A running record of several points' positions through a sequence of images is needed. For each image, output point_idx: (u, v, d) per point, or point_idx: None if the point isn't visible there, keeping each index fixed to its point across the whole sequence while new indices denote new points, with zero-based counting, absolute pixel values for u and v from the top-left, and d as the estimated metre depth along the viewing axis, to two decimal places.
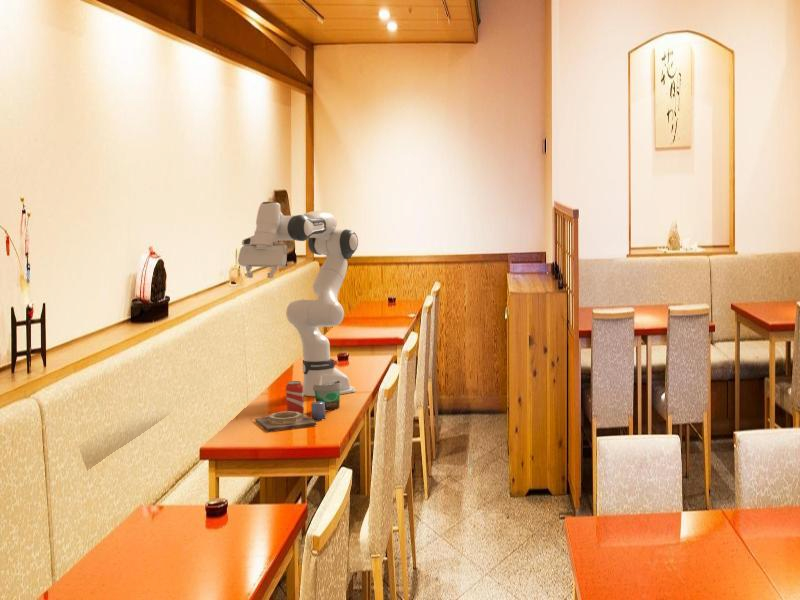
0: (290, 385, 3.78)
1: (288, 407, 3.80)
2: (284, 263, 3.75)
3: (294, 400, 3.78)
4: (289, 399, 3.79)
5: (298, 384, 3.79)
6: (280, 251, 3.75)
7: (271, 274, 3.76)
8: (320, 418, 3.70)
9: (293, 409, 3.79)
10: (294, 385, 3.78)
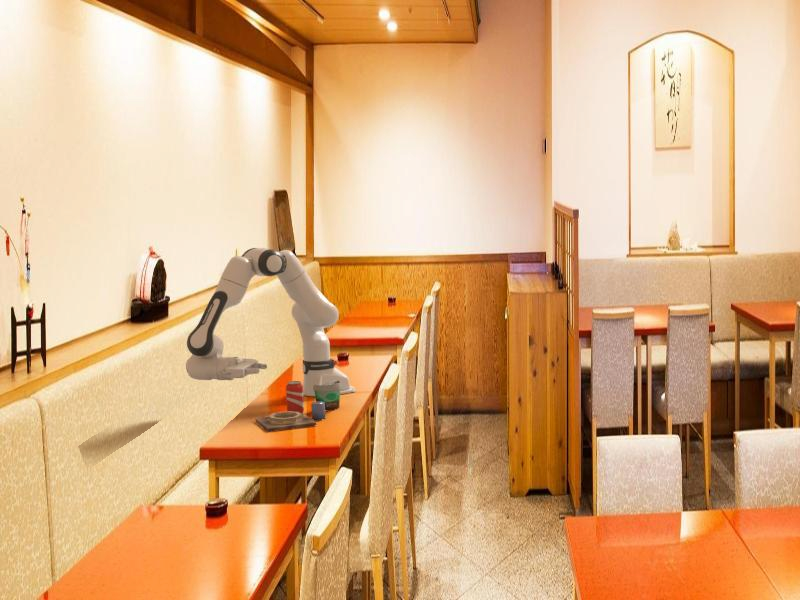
0: (290, 385, 3.78)
1: (288, 407, 3.80)
2: (239, 372, 3.73)
3: (294, 400, 3.78)
4: (289, 399, 3.79)
5: (298, 384, 3.79)
6: (230, 377, 3.75)
7: (255, 372, 3.77)
8: (320, 418, 3.70)
9: (293, 409, 3.79)
10: (294, 385, 3.78)
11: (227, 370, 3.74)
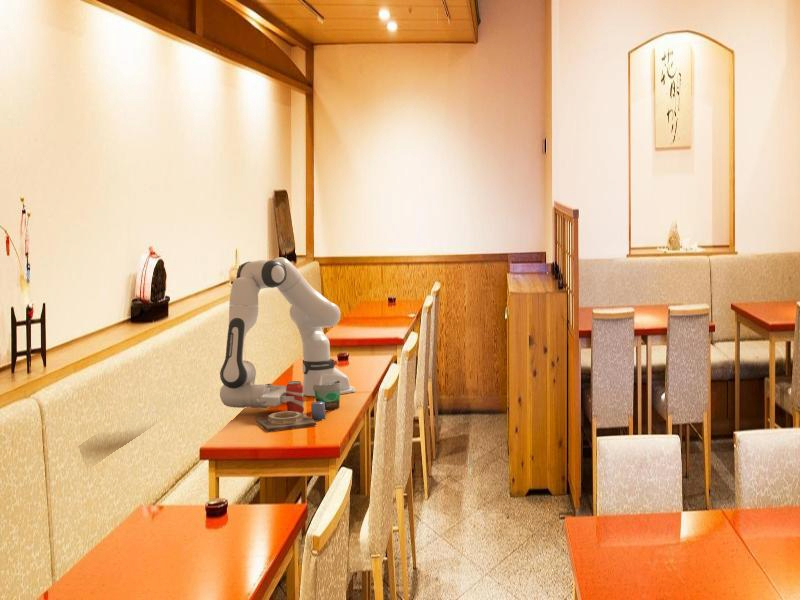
0: (290, 385, 3.78)
1: (288, 407, 3.80)
2: (274, 401, 3.72)
3: (294, 400, 3.78)
4: None
5: (298, 384, 3.79)
6: (265, 406, 3.74)
7: (290, 399, 3.77)
8: (320, 418, 3.70)
9: (293, 409, 3.79)
10: (294, 385, 3.78)
11: (262, 398, 3.74)
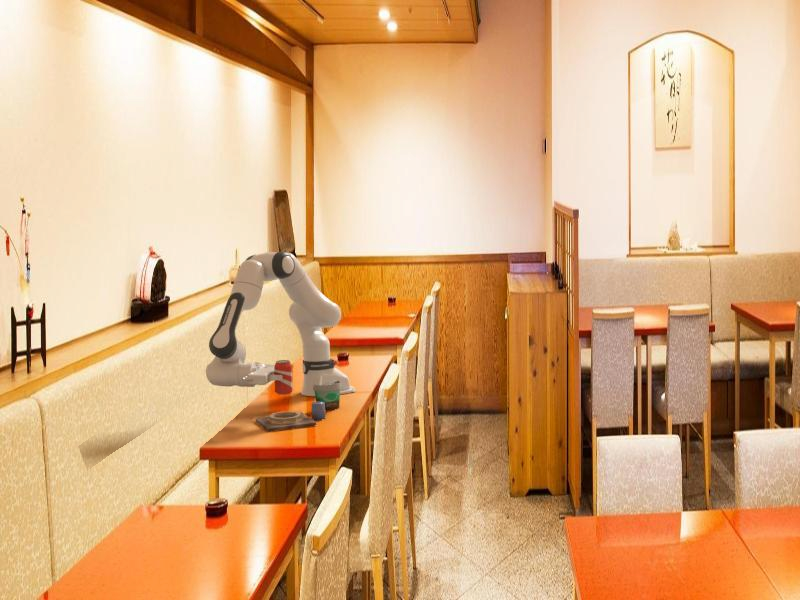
0: (278, 364, 3.63)
1: (276, 387, 3.65)
2: (262, 379, 3.57)
3: (282, 380, 3.63)
4: None
5: (287, 363, 3.64)
6: (252, 384, 3.59)
7: (278, 378, 3.62)
8: (320, 418, 3.70)
9: (281, 389, 3.64)
10: (283, 364, 3.63)
11: (249, 376, 3.59)
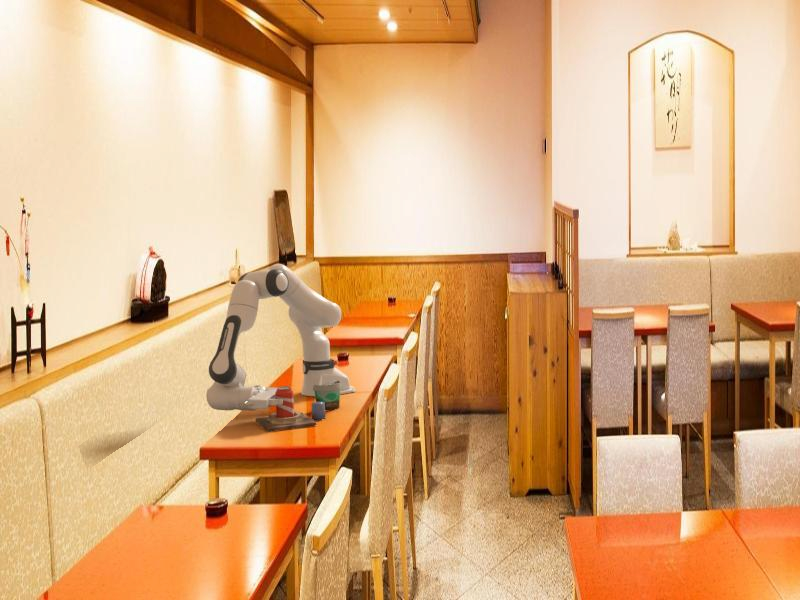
0: (279, 391, 3.63)
1: (277, 413, 3.64)
2: (263, 403, 3.56)
3: (284, 406, 3.63)
4: (278, 405, 3.63)
5: (288, 389, 3.63)
6: (253, 408, 3.58)
7: (279, 403, 3.60)
8: (320, 418, 3.70)
9: (283, 416, 3.63)
10: (284, 391, 3.63)
11: (250, 401, 3.57)
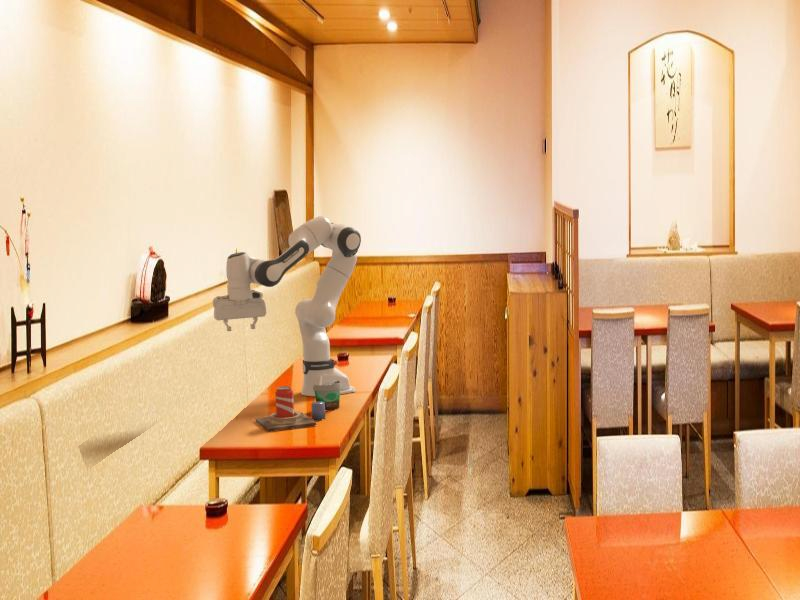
0: (280, 391, 3.63)
1: (277, 413, 3.64)
2: (214, 317, 3.85)
3: (284, 406, 3.63)
4: (278, 405, 3.63)
5: (288, 389, 3.63)
6: None
7: (227, 327, 3.88)
8: (320, 418, 3.70)
9: (283, 416, 3.63)
10: (284, 391, 3.63)
11: (216, 304, 3.84)
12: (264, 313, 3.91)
